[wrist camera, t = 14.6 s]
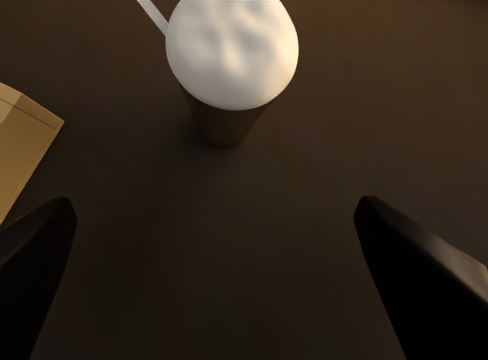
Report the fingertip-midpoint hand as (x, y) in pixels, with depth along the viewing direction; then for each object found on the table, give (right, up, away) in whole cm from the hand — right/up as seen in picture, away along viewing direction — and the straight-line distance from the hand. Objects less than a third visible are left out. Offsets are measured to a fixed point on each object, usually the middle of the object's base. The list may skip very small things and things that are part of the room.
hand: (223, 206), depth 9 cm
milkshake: (-1, +4, +9) cm, 10 cm away
